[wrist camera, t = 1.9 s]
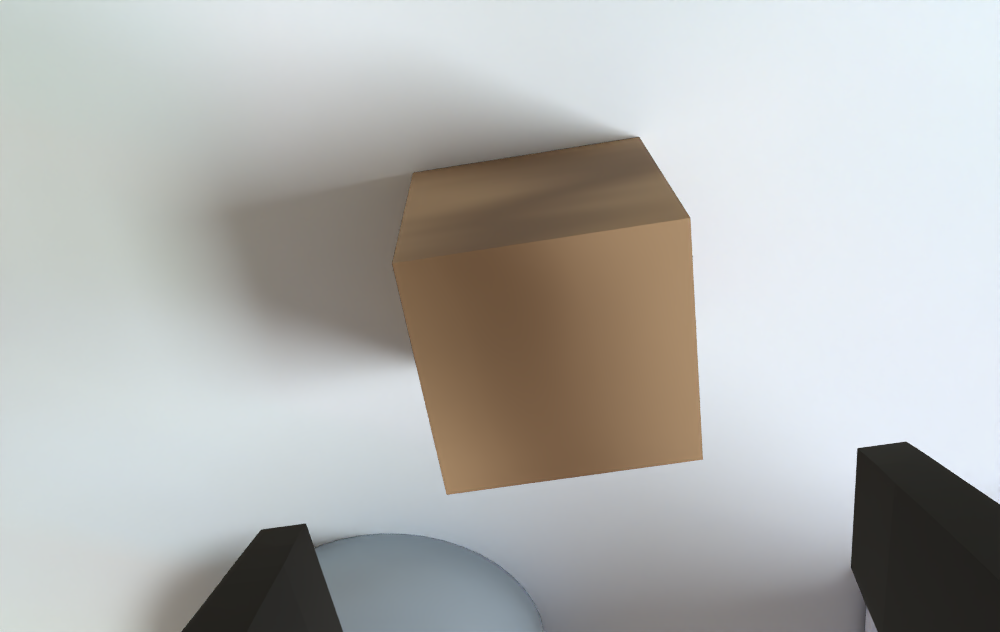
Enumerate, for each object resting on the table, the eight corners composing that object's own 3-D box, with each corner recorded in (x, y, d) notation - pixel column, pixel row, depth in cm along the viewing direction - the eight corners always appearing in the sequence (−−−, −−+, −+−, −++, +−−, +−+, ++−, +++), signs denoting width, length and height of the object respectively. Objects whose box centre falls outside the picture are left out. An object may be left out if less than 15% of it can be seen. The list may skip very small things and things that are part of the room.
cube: (638, 136, 18) (690, 218, 14) (654, 334, 20) (702, 459, 16) (413, 171, 18) (391, 263, 14) (453, 363, 21) (446, 494, 16)
